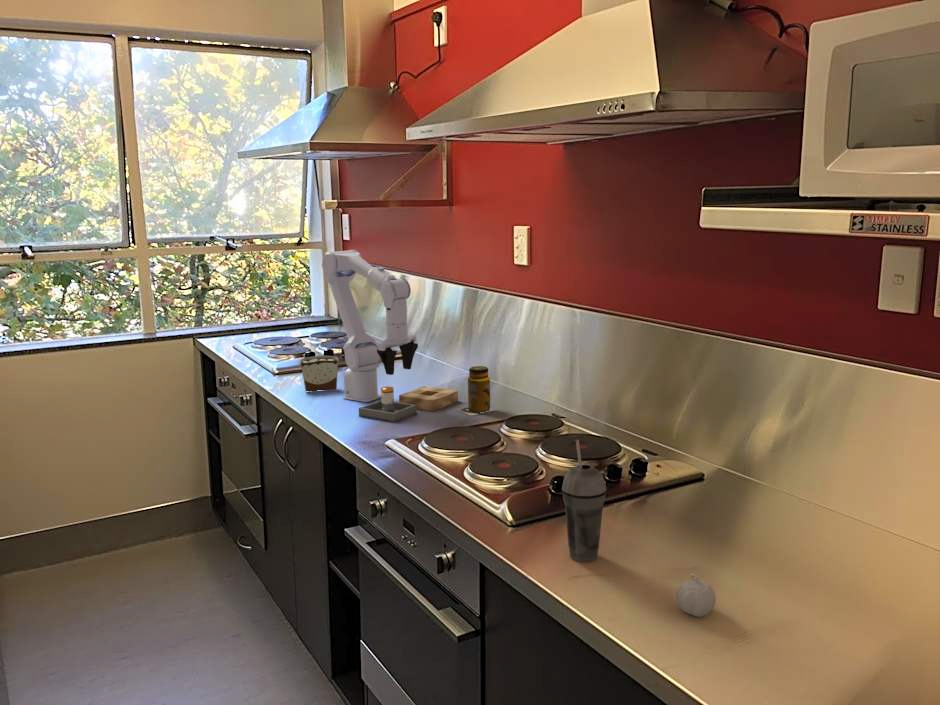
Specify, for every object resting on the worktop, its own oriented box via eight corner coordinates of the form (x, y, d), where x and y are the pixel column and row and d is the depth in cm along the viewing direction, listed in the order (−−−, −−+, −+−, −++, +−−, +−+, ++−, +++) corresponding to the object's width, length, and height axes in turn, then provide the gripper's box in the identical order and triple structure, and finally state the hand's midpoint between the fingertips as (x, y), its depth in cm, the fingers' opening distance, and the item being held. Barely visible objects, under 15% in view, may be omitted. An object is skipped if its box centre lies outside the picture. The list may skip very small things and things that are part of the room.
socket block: (399, 405, 228) (398, 395, 227) (424, 396, 238) (423, 386, 237) (434, 411, 221) (433, 400, 221) (458, 401, 231) (457, 390, 231)
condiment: (496, 411, 220) (496, 368, 218) (471, 416, 216) (470, 372, 213) (481, 405, 226) (480, 363, 224) (456, 410, 222) (455, 368, 219)
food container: (338, 385, 254) (336, 354, 252) (341, 389, 248) (339, 357, 246) (298, 388, 250) (296, 357, 248) (301, 393, 244) (298, 361, 242)
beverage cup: (613, 562, 130) (615, 443, 126) (572, 569, 128) (572, 448, 124) (594, 544, 137) (595, 430, 133) (554, 550, 135) (554, 435, 131)
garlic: (676, 599, 118) (677, 566, 117) (715, 603, 116) (716, 570, 115) (674, 619, 112) (675, 585, 111) (715, 624, 111) (716, 590, 110)
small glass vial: (379, 413, 218) (378, 388, 216) (386, 410, 221) (385, 386, 219) (389, 415, 216) (388, 390, 215) (397, 412, 219) (395, 387, 218)
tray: (358, 416, 218) (358, 408, 217) (382, 407, 226) (381, 399, 226) (394, 422, 211) (393, 413, 211) (416, 413, 220) (416, 405, 219)
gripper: (391, 328, 213) (393, 378, 216) (424, 320, 225) (425, 368, 227) (371, 326, 217) (373, 375, 219) (404, 318, 228) (406, 365, 231)
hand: (398, 371), depth 224 cm, fingers open, 7 cm apart
